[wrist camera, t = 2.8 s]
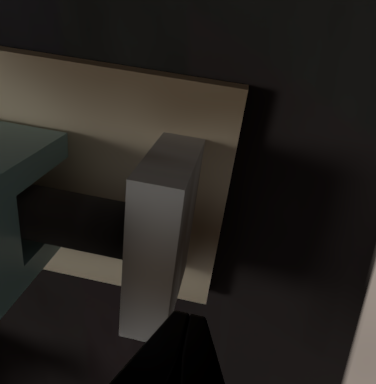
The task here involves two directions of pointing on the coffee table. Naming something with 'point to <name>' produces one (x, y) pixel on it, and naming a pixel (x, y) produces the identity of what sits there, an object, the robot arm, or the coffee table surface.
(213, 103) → the cord board
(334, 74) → the coffee table surface
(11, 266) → the marker sleeve
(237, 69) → the coffee table surface
